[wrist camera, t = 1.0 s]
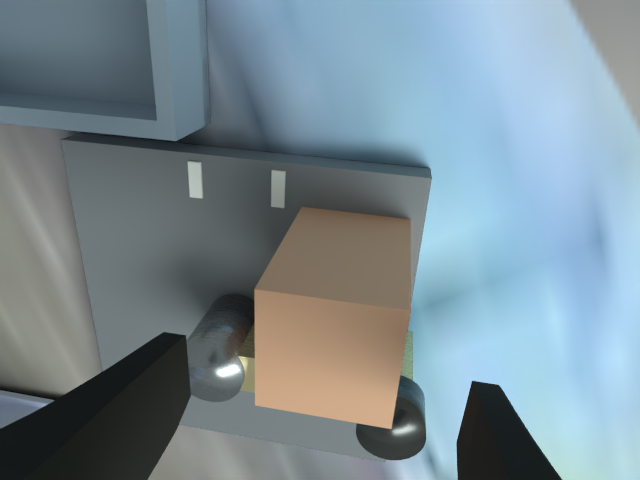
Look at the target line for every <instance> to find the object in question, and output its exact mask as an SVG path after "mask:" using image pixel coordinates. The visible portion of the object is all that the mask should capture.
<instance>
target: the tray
mask: <svg viewBox="0 0 640 480" xmlns="http://www.w3.org/2000/svg"><path fill="white" fill-rule="evenodd" d="M0 123H2V124H12V125H22V126H32V127H42V128H52V129H61V130H71V131H81V132H91V133H101V134H111V135H121V136H130V137H140V138H150V139H160V140H170V141H177V140H179V139H181V138H183V137H185V136H187V135H189V134H191V133H193V132H195V131H197V130H199V129H200V128H202V127H204V126H206V125H208V124H210V123H211V114H210V91H209V68H208V45H207V22H206V0H0Z"/></svg>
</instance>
